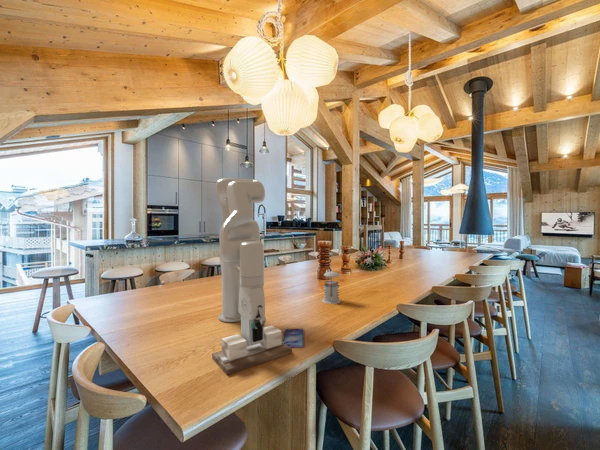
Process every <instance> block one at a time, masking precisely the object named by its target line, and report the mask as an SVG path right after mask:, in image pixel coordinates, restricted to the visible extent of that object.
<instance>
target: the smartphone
mask: <svg viewBox="0 0 600 450" xmlns="http://www.w3.org/2000/svg"><path fill="white" fill-rule="evenodd" d="M304 331H305V330H304V328H286V329H285V328H284V333H283V338H282V339H283V340H282V341H283V342H284V344H286V345H287V346H289V347H290V348H293V349H298V348H299V349H302V348H304V346H305V344H304V343H305V342H304V341H305V340H304V337H305V336H304V335H305V333H304Z"/></svg>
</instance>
